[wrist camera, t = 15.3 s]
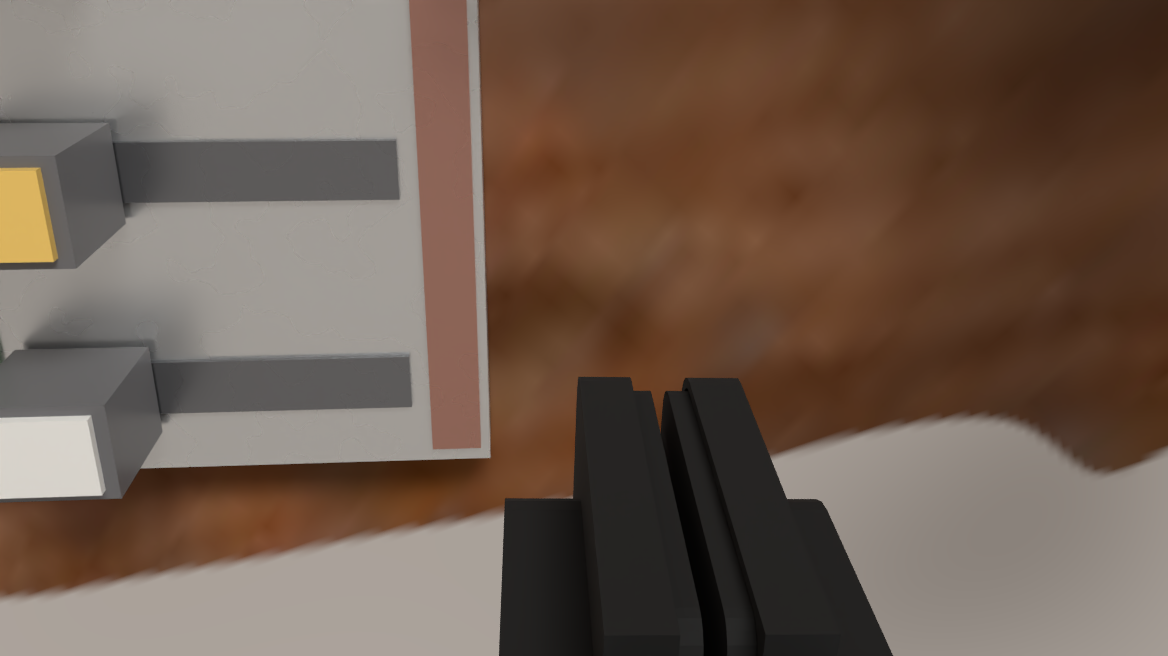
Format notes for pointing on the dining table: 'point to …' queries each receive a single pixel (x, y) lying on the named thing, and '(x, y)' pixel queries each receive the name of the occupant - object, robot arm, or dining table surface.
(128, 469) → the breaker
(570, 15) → the dining table surface
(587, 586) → the robot arm
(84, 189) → the block
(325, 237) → the panel
